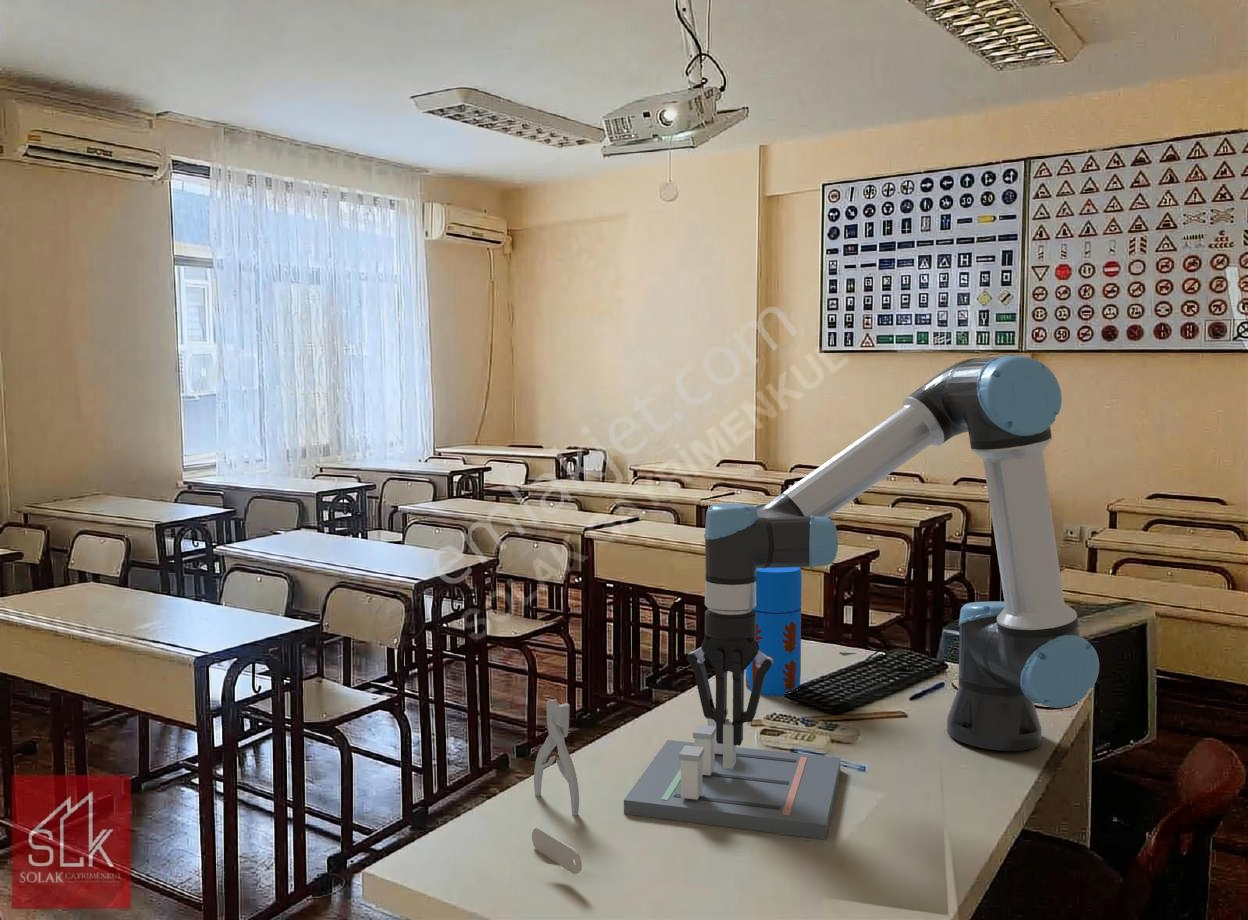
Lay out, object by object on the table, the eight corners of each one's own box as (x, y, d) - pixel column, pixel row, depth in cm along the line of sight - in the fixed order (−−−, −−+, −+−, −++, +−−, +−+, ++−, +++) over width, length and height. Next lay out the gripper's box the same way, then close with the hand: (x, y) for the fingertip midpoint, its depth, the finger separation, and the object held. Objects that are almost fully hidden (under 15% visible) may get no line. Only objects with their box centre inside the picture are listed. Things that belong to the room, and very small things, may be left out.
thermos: (798, 684, 198) (799, 563, 196) (802, 701, 187) (803, 572, 185) (744, 683, 199) (745, 562, 197) (745, 699, 188) (746, 572, 186)
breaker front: (704, 790, 138) (704, 747, 138) (698, 800, 135) (698, 756, 135) (684, 787, 139) (685, 745, 139) (679, 797, 136) (679, 753, 135)
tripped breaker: (716, 767, 147) (716, 726, 147) (711, 776, 144) (711, 734, 143) (698, 765, 148) (698, 724, 147) (692, 773, 144) (692, 732, 144)
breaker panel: (840, 770, 152) (840, 756, 152) (825, 839, 128) (825, 823, 128) (667, 751, 160) (667, 739, 160) (623, 813, 137) (623, 799, 136)
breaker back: (727, 746, 156) (728, 708, 155) (723, 754, 152) (723, 715, 152) (710, 745, 156) (710, 706, 156) (706, 752, 153) (706, 713, 153)
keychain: (583, 876, 119) (583, 852, 119) (579, 877, 119) (579, 854, 118) (535, 845, 127) (535, 823, 127) (531, 847, 127) (531, 824, 127)
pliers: (584, 813, 137) (583, 709, 136) (575, 816, 136) (574, 711, 135) (542, 792, 144) (542, 693, 143) (534, 794, 143) (533, 695, 142)
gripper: (778, 606, 145) (776, 760, 146) (692, 601, 148) (692, 751, 150) (770, 617, 138) (769, 779, 139) (681, 611, 141) (681, 769, 143)
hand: (729, 764), depth 144 cm, fingers closed
